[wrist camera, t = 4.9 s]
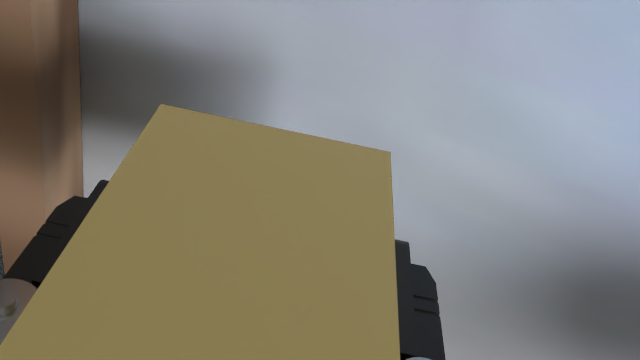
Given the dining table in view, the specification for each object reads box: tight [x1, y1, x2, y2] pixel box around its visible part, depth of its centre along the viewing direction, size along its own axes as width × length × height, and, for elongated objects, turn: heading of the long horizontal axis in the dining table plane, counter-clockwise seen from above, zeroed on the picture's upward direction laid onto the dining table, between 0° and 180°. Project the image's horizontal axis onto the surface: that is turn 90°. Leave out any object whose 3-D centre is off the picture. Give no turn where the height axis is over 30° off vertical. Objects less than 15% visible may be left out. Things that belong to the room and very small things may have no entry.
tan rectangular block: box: [0, 104, 400, 360], centre depth 13 cm, size 4×6×9 cm, turn 79°
